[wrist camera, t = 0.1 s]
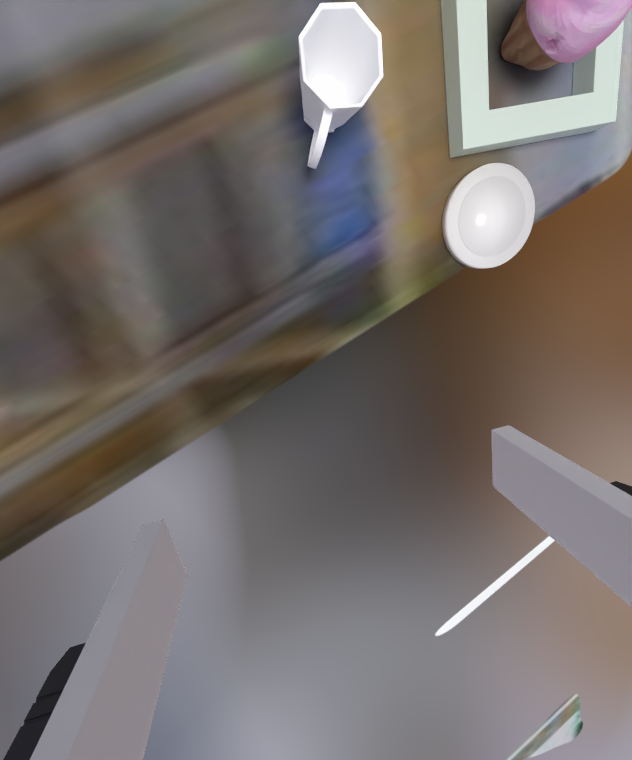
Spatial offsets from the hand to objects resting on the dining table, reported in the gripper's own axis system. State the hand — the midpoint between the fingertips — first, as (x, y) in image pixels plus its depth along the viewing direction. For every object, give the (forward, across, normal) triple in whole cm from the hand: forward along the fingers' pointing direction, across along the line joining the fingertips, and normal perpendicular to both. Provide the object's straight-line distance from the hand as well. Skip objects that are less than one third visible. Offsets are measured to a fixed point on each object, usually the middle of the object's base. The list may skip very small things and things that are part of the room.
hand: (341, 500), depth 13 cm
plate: (+28, +26, +10) cm, 40 cm away
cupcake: (+28, +32, +26) cm, 50 cm away
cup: (+28, +8, +22) cm, 37 cm away
